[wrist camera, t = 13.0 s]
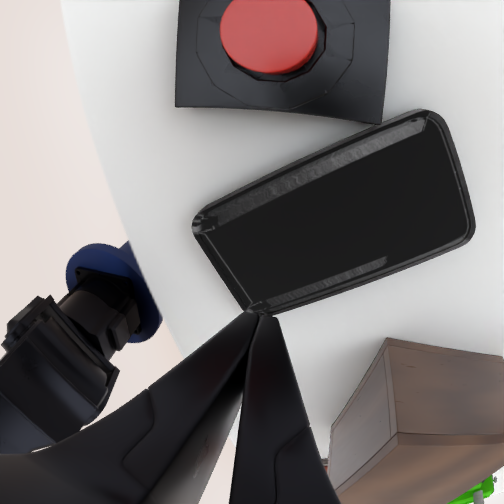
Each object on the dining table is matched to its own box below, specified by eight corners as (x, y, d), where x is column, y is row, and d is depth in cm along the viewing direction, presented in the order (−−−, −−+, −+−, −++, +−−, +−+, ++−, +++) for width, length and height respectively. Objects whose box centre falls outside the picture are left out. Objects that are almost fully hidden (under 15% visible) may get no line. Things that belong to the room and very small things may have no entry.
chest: (502, 356, 20) (529, 431, 13) (431, 437, 26) (437, 500, 19) (386, 337, 21) (397, 431, 14) (330, 427, 27) (323, 499, 20)
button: (229, 73, 12) (216, 71, 11) (233, -3, 11) (221, -13, 9) (315, 78, 12) (314, 76, 10) (320, 0, 10) (319, -12, 8)
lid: (532, 430, 13) (535, 439, 12) (440, 500, 19) (440, 507, 18) (397, 432, 14) (398, 444, 13) (323, 499, 20) (322, 507, 20)
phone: (184, 220, 18) (439, 104, 12) (191, 213, 19) (432, 102, 13) (251, 323, 21) (479, 240, 15) (255, 312, 22) (472, 232, 16)
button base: (187, 105, 16) (157, 110, 13) (192, -11, 13) (164, -28, 10) (375, 122, 15) (388, 130, 12) (384, -2, 11) (398, -23, 8)
